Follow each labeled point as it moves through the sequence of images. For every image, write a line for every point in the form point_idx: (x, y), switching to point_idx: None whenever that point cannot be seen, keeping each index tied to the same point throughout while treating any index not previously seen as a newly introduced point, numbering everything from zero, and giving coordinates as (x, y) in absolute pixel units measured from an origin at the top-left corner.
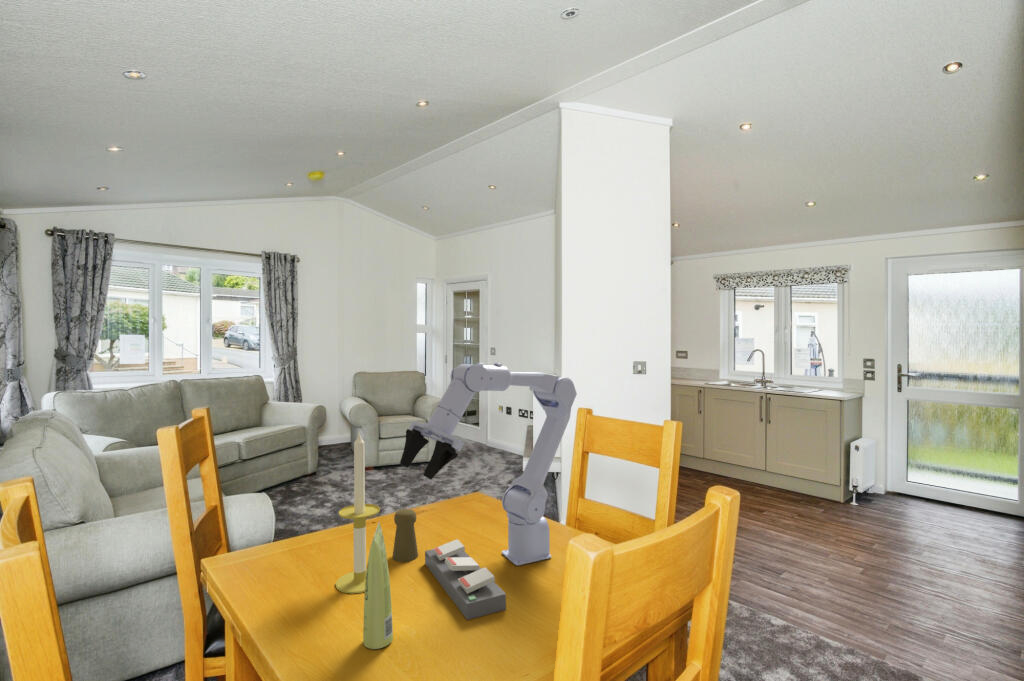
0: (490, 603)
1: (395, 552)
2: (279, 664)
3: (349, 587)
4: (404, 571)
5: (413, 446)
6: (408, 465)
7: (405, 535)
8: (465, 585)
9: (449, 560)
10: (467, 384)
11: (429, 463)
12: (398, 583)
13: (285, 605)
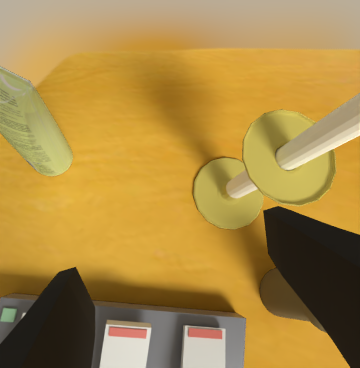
0: None
1: None
2: (85, 56)
3: (215, 172)
4: (227, 267)
5: (356, 312)
6: (275, 260)
7: (291, 291)
8: None
9: (131, 328)
10: None
11: (40, 317)
12: (192, 242)
13: (215, 93)
